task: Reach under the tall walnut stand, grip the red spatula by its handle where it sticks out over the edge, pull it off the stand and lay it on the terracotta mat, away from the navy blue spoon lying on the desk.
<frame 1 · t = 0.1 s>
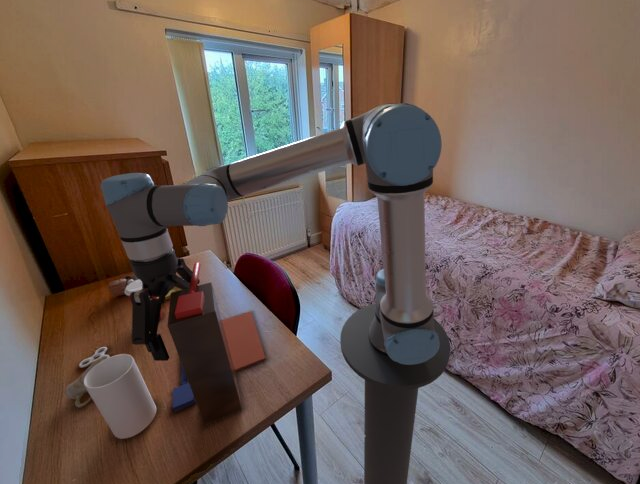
hand: (180, 334, 65), 17 cm above the table, tool pointing down, fingers open, 13 cm apart
paper cup: (152, 319, 95), on the table
fidget spinner: (98, 357, 81), on the table
red spatula: (193, 291, 60), point 29 cm above the table, touching stand
yellow square tray: (168, 295, 107), on the table, touching anime character
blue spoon: (185, 380, 74), on the table
cup: (135, 419, 65), on the table
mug: (96, 389, 72), on the table
anime character: (140, 287, 112), on the table, touching yellow square tray
stand: (221, 396, 70), on the table
mat: (237, 340, 86), on the table
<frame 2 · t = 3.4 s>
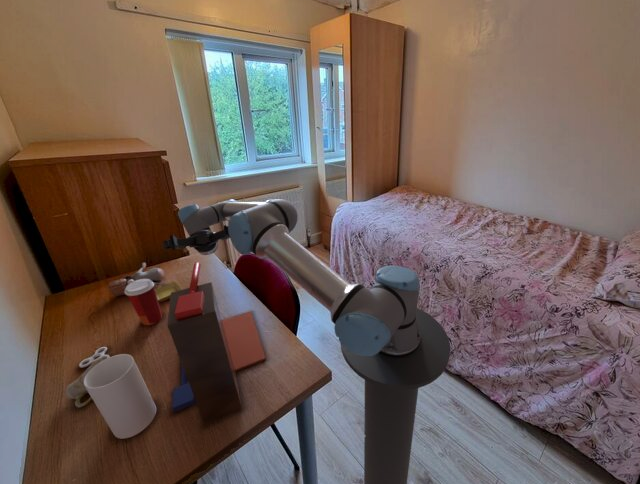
hand: (199, 234, 80), 32 cm above the table, tool pointing upward, fingers open, 13 cm apart
nothing on the table moved.
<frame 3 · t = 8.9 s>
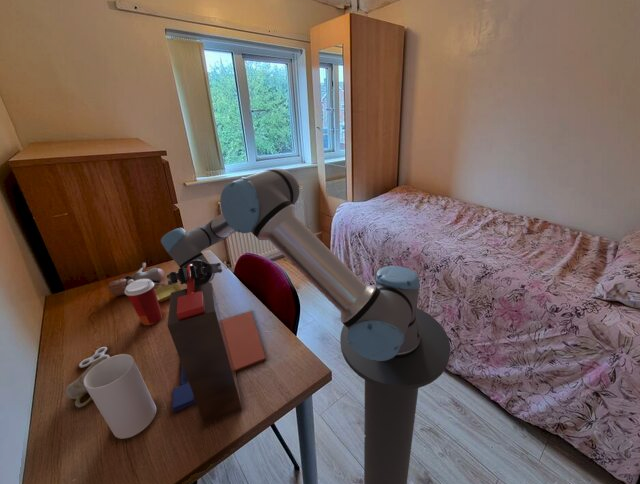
hand: (187, 273, 61), 32 cm above the table, tool pointing upward, fingers closed on red spatula
red spatula: (191, 292, 60), point 29 cm above the table, touching gripper, stand
everything else where it was.
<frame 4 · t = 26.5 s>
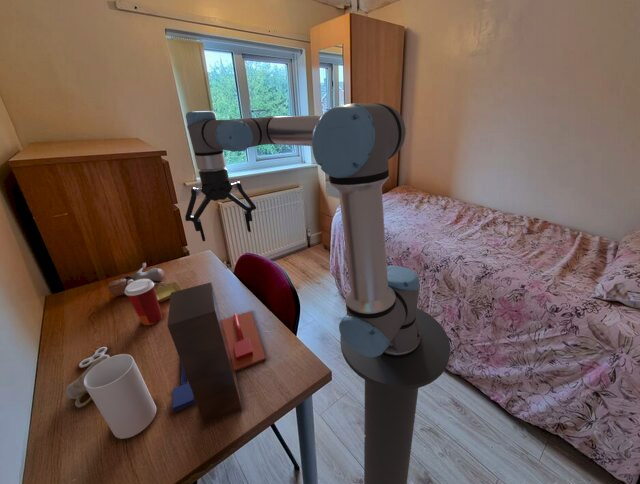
hand: (227, 235, 91), 27 cm above the table, tool pointing down, fingers open, 13 cm apart
red spatula: (240, 338, 86), point 1 cm above the table, touching mat
everything else where it was.
at the end: red spatula inside the target area on the mat (1.0 cm from its centre), point 0.6 cm above the mat's base; red spatula point 0.6 cm above the table; red spatula touching mat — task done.
